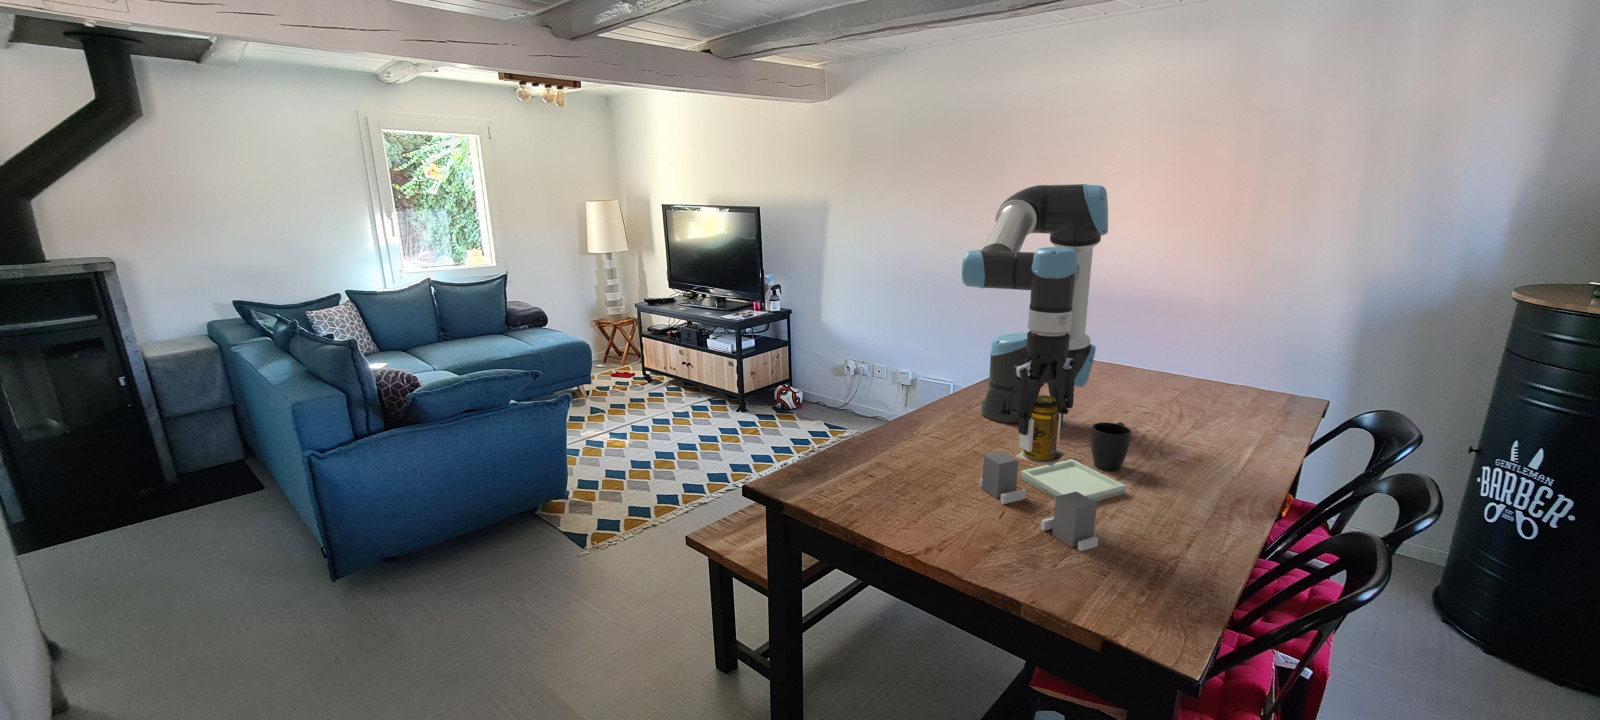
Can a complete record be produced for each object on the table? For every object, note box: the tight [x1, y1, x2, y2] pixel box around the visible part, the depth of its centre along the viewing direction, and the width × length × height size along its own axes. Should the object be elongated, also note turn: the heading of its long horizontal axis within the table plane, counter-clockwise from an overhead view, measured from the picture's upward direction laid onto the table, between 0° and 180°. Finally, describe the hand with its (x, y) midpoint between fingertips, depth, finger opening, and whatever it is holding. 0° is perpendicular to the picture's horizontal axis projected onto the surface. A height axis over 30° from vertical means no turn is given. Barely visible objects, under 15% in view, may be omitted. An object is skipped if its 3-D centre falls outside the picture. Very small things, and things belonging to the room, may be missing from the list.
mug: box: [1090, 421, 1132, 472], centre depth 154 cm, size 8×12×10 cm
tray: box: [1019, 458, 1126, 502], centre depth 144 cm, size 15×15×2 cm
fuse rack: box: [978, 450, 1099, 552], centre depth 132 cm, size 29×6×8 cm, turn 23°
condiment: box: [1015, 394, 1068, 466], centre depth 129 cm, size 7×8×12 cm
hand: (1038, 445), depth 130 cm, fingers closed on condiment, 6 cm apart
